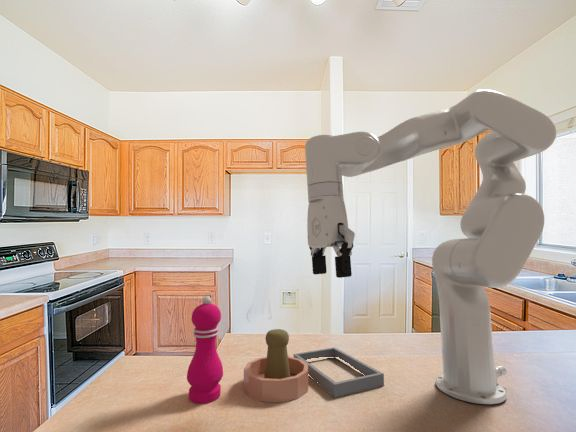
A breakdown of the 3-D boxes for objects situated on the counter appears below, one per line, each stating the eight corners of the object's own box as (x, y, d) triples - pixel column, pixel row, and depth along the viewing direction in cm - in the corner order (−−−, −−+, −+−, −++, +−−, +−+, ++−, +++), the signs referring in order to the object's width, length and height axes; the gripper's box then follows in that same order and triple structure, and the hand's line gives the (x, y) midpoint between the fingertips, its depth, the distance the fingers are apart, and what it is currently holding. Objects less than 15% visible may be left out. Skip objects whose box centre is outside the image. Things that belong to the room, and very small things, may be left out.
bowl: (291, 369, 75) (291, 352, 75) (319, 393, 62) (319, 373, 63) (237, 379, 69) (237, 361, 70) (256, 408, 57) (256, 385, 57)
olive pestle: (288, 389, 62) (287, 334, 63) (260, 387, 63) (260, 333, 65) (293, 377, 68) (293, 327, 69) (267, 375, 69) (267, 326, 70)
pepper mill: (185, 391, 63) (188, 294, 66) (220, 385, 66) (221, 293, 68) (186, 408, 57) (189, 300, 59) (225, 401, 59) (226, 297, 61)
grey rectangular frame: (334, 356, 83) (334, 347, 83) (384, 385, 65) (383, 373, 66) (293, 364, 78) (293, 354, 78) (334, 397, 60) (334, 384, 61)
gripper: (293, 200, 71) (297, 274, 69) (330, 185, 55) (337, 280, 53) (321, 201, 74) (326, 271, 72) (364, 186, 58) (372, 276, 56)
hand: (331, 275), depth 62 cm, fingers open, 9 cm apart
